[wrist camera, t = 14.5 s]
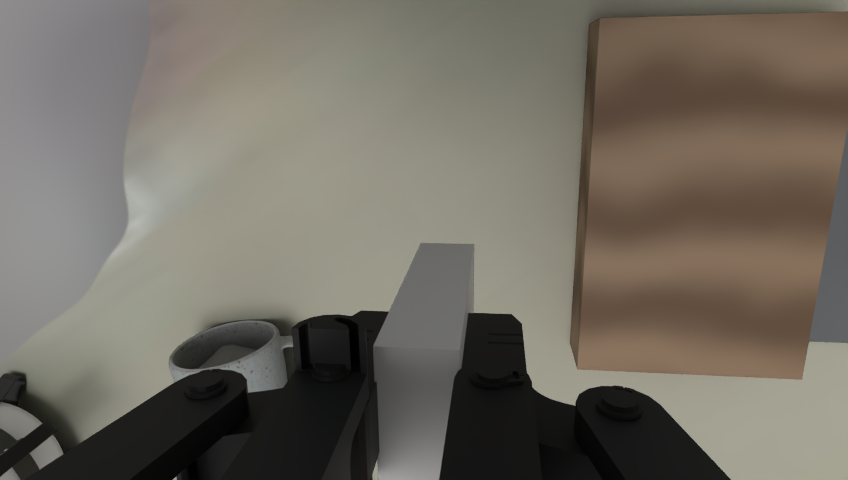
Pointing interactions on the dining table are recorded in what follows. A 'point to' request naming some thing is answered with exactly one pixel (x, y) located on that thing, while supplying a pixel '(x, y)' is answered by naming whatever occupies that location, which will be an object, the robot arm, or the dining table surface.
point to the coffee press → (22, 434)
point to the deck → (707, 191)
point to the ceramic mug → (236, 353)
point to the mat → (834, 269)
